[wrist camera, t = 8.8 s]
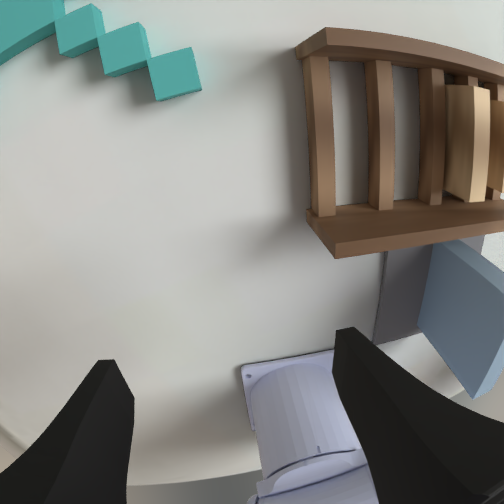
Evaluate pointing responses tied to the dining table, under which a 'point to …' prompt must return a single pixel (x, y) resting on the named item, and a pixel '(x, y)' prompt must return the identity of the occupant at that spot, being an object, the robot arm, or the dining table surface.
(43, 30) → the alien figure
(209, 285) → the dining table surface
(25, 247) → the dining table surface
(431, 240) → the rack
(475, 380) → the blue block
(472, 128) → the offcut
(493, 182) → the offcut
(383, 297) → the grey mat
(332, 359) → the robot arm
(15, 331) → the dining table surface
